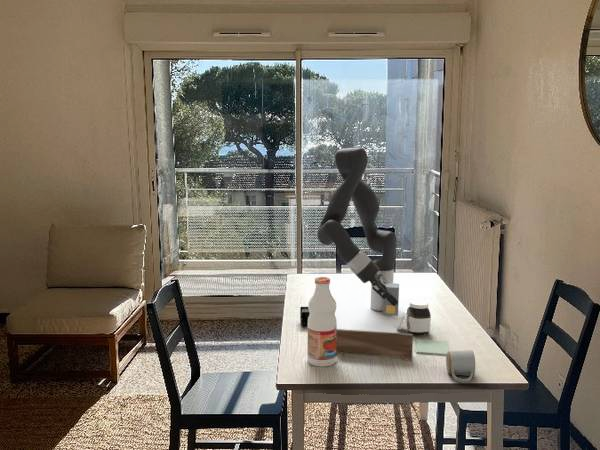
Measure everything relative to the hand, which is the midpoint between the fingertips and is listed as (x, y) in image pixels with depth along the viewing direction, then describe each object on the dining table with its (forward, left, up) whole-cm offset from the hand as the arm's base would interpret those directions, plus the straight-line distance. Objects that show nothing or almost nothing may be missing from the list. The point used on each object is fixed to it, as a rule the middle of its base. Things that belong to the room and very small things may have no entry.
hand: (396, 301), depth 201 cm
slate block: (0, -2, -4) cm, 5 cm away
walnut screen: (+10, -7, -16) cm, 20 cm away
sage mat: (0, +13, -16) cm, 20 cm away
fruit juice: (+19, -23, -16) cm, 34 cm away
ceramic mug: (+21, +21, -16) cm, 34 cm away
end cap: (-16, -32, -16) cm, 39 cm away
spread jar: (-15, +6, -16) cm, 23 cm away
